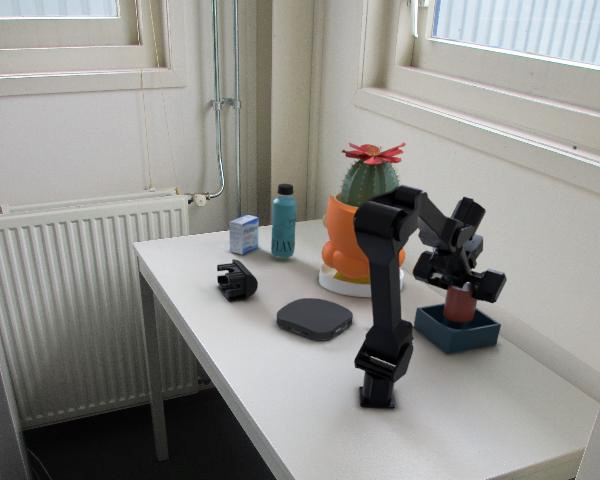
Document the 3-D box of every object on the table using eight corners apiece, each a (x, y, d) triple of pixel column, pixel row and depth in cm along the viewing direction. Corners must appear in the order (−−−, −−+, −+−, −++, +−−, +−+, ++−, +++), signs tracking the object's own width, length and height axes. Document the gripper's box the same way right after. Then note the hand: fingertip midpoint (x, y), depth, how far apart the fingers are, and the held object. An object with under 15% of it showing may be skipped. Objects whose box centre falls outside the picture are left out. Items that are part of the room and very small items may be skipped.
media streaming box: (306, 303, 161) (306, 292, 160) (358, 321, 155) (359, 310, 153) (269, 325, 151) (269, 312, 149) (323, 345, 144) (324, 332, 143)
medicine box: (242, 255, 185) (242, 224, 180) (229, 251, 187) (229, 221, 182) (258, 247, 190) (259, 217, 186) (245, 243, 192) (246, 213, 188)
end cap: (258, 299, 162) (258, 273, 158) (229, 303, 159) (229, 276, 156) (243, 283, 169) (244, 257, 166) (216, 286, 167) (216, 260, 163)
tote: (496, 344, 149) (501, 324, 146) (447, 354, 144) (451, 333, 141) (460, 319, 159) (464, 299, 156) (413, 327, 154) (416, 307, 151)
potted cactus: (317, 268, 180) (327, 130, 161) (400, 272, 181) (420, 135, 161) (319, 302, 162) (330, 152, 143) (411, 307, 163) (435, 158, 143)
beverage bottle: (267, 260, 182) (269, 186, 171) (275, 252, 188) (277, 179, 177) (290, 264, 181) (293, 189, 170) (297, 256, 186) (301, 183, 175)
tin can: (478, 325, 149) (488, 278, 143) (458, 332, 145) (468, 285, 139) (454, 314, 153) (464, 268, 147) (435, 320, 150) (443, 274, 144)
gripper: (514, 235, 130) (521, 273, 143) (427, 213, 138) (442, 251, 152) (489, 285, 128) (499, 319, 142) (403, 259, 137) (420, 293, 151)
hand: (464, 293), depth 147 cm, fingers closed on tin can, 7 cm apart
